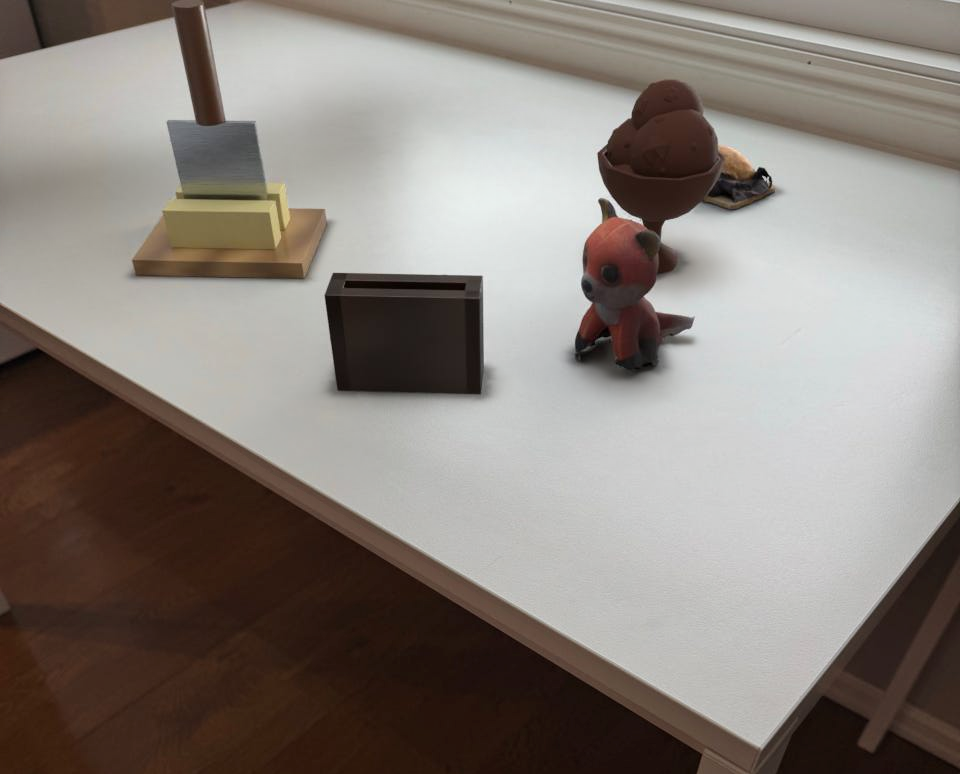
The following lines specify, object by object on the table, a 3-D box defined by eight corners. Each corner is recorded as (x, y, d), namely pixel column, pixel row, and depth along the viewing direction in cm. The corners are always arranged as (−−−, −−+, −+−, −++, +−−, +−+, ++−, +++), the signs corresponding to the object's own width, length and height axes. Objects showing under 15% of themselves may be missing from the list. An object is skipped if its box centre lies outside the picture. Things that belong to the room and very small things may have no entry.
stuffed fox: (716, 350, 80) (743, 203, 71) (614, 396, 75) (630, 244, 67) (653, 315, 84) (671, 172, 75) (553, 356, 80) (560, 208, 71)
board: (135, 275, 91) (131, 259, 89) (172, 221, 99) (168, 206, 98) (304, 278, 90) (301, 263, 89) (327, 223, 98) (325, 208, 97)
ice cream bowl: (569, 251, 93) (578, 78, 82) (665, 227, 96) (686, 58, 85) (630, 297, 86) (649, 116, 75) (731, 270, 90) (763, 92, 79)
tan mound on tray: (651, 183, 104) (655, 146, 102) (704, 162, 108) (709, 127, 105) (728, 213, 99) (734, 175, 96) (780, 190, 102) (788, 154, 100)
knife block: (337, 390, 76) (324, 295, 71) (344, 366, 79) (332, 272, 73) (481, 394, 76) (479, 298, 70) (483, 370, 78) (483, 275, 72)
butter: (171, 247, 91) (161, 210, 89) (190, 217, 96) (182, 180, 93) (275, 249, 91) (269, 212, 88) (290, 219, 95) (284, 182, 93)
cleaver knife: (188, 238, 92) (135, 7, 79) (195, 226, 94) (144, -2, 81) (271, 239, 92) (231, 7, 78) (276, 227, 94) (239, -1, 80)
